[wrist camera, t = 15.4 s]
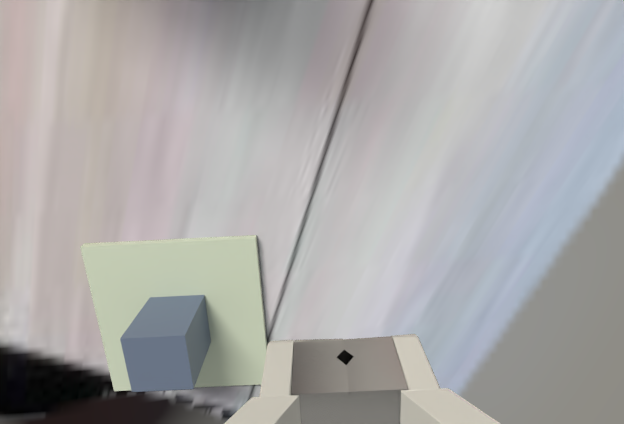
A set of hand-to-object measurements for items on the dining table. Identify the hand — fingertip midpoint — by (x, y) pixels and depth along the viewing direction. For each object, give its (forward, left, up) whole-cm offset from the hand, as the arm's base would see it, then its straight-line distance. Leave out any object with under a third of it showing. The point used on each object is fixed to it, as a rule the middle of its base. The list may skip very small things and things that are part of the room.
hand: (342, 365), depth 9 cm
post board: (+14, +16, -29) cm, 36 cm away
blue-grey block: (+14, +16, -28) cm, 35 cm away
